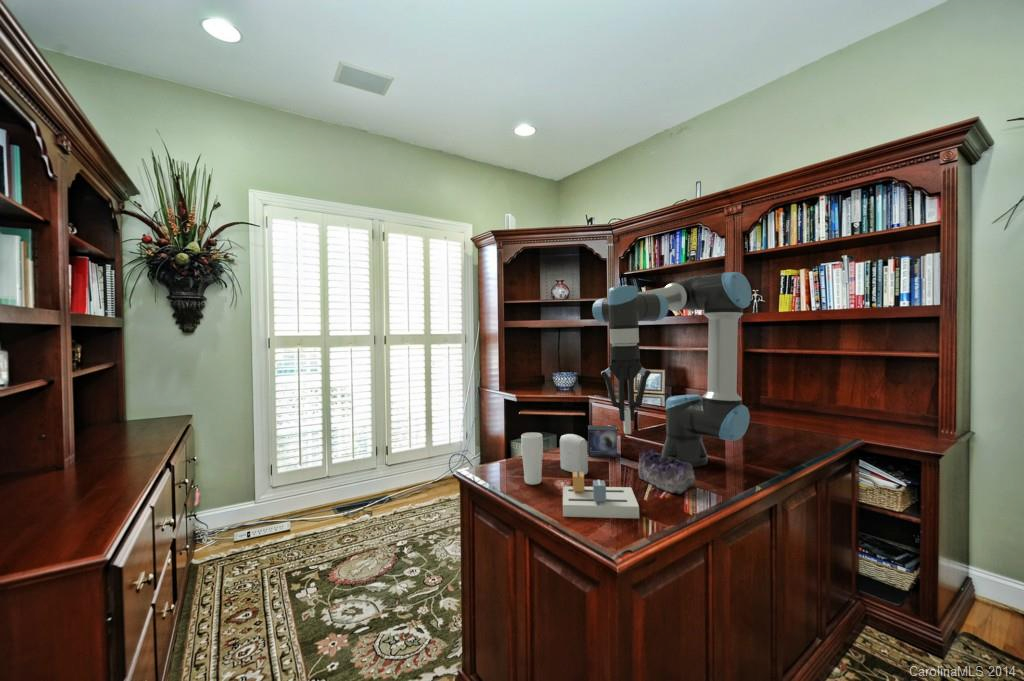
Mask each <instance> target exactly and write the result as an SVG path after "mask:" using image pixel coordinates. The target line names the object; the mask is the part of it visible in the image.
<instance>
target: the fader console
mask: <svg viewBox="0 0 1024 681" xmlns="http://www.w3.org/2000/svg"><path fill="white" fill-rule="evenodd" d="M634 493H635V492H634V491H633V489H632V487H631V486H630V487H629V486H628V487H626V486H625V487H624V486H606V502H603V501H594V497H593V486H584V492H583V491H573V485H572V486H571V485H570V486H569V485H568V486H565V485H564V486H562V517H567V518H568V517H569V518H570V517H572V518H606V519H608V518H609V519H640V506H639V503H638V501H637V498H636V496H635V494H634Z"/></svg>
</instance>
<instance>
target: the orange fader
mask: <svg viewBox="0 0 1024 681" xmlns="http://www.w3.org/2000/svg"><path fill="white" fill-rule="evenodd" d="M572 486H573V491H583V492H584V487H585V475H584V472H579V471H577V472H572Z"/></svg>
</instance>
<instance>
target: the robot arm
mask: <svg viewBox="0 0 1024 681" xmlns="http://www.w3.org/2000/svg"><path fill="white" fill-rule="evenodd" d="M751 302H752V287H751V284H750V283H749V280H748V279H747V277H746V276H745V275H744V274H743V273H741V272H737V271H733V272H732V271H729V272H720V273H715V274H713V273H712V274H708V275H707V274H706V275H697V276H694V277H693V276H692V277H690V278H686V279H683V280H682V279H681V280H679V281H675V282H671V283H668V284H667V285H666V286H664V287H660V288H655V289H649V290H644V291H639V292H638V288H637V286H635V285H618V286H612V287H610V288H609V290H608V297H603V298H599V299H596V300H595V302H594V303H593V304H592V308H591V309H592V310H591V311H592V316H593V318H594V319H595V320H596V322H599V323H603V324H609V343H610V344H611V346H609V355H610V356H609V358H610V360H609V364H608V368H606V369H605V370H602V371H600V374H601V376H602V377H603V380H604V381H605V385H606V389H607V392H608V395H609V398H610V402H611V405H612V407H614V408H617V409H618V415H619V416H618V417H619V420H620V422H623V433H624V435H631V434H632V422H634V421H635V414H636V413H635V409H636V408H639V407H641V406H642V404H643V399H644V394H645V390H646V386H647V385H646V384H647V381H648V378H649V377H650V376H651V374H652V372H651V371H650V370H649V369H646V368H644V366H643V365H642V363H641V361H640V359H641V358H640V357H641V356H640V346H639V345H638V343H640V337H639V336H640V335H639V332H640V331H639V322H656V321H660V320H663V319H664V318H666V317H667V315H668V312H669V311H672V312H677V311H683V310H684V311H685V310H688V311H703V316H705V317H706V318H707V319H708V331H707V332H708V334H707V335H708V337H707V338H708V339H707V340H708V343H707V344H708V346H707V348H708V349H707V390H706V392H705V393H704V394H703V395H702V396H701V395H700V394H682V395H673V396H672V395H671V396H669V397H668V398H667V399H666V401H665V422H666V423H665V427H666V429H665V430H666V431H665V432H666V438H665V441H664V444H663V447H662V450H661V456H662V457H668V458H671V459H672V460H679V461H681V462H682V463H689V464H691V465H692V467H693V468H694V467H695V468H697V467H703V466H705V465H707V464H708V459H709V458H708V454H707V450H706V447H705V445H704V442H703V438H702V437H703V436H705V437H711V438H716V439H720V440H722V441H732V442H734V441H738V440H740V439H741V438H743V436H744V435H745V434H746V432H747V430H748V427H749V425H750V418H751V415H750V412H749V408H748V407H747V406H746V405H744V404H742V403H743V402H742V401H743V398H742V397H741V396H740V395H739V394H738V392H737V391H738V388H737V386H738V384H737V383H738V382H737V381H738V380H737V379H738V328H739V327H738V325H739V323H738V322H739V319H740V318H741V317H742V316H743V315H744V309H745V308H748V307H749V306H750V305H751ZM638 374H640V378H639V383H638V388H637V392H636V396H635V378H636V377H637V376H638ZM612 375H614V377H615V378H616V380H617V394H618V396H617V397H618V399H617V398H616V394H615V391H614V388H613V384H612V381H611V380H612V379H610V378H611V376H612ZM625 380H626V381H627V400H628V403H627V404H628V407H625ZM617 400H618V401H617Z"/></svg>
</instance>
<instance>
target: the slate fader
mask: <svg viewBox="0 0 1024 681" xmlns="http://www.w3.org/2000/svg"><path fill="white" fill-rule="evenodd" d="M592 487H593V497H594V501H603V502H606V487H607V486H606V481H605V480H601V479H597V480H596V479H594V480H592Z"/></svg>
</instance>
